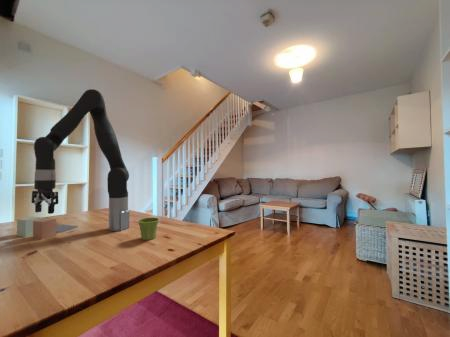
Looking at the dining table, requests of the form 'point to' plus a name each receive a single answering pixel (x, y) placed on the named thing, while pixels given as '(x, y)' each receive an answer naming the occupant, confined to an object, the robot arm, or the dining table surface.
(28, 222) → the pale green block
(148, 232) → the plant pot
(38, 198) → the robot arm
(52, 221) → the brown block
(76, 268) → the dining table surface
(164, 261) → the dining table surface
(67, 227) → the slate mat
